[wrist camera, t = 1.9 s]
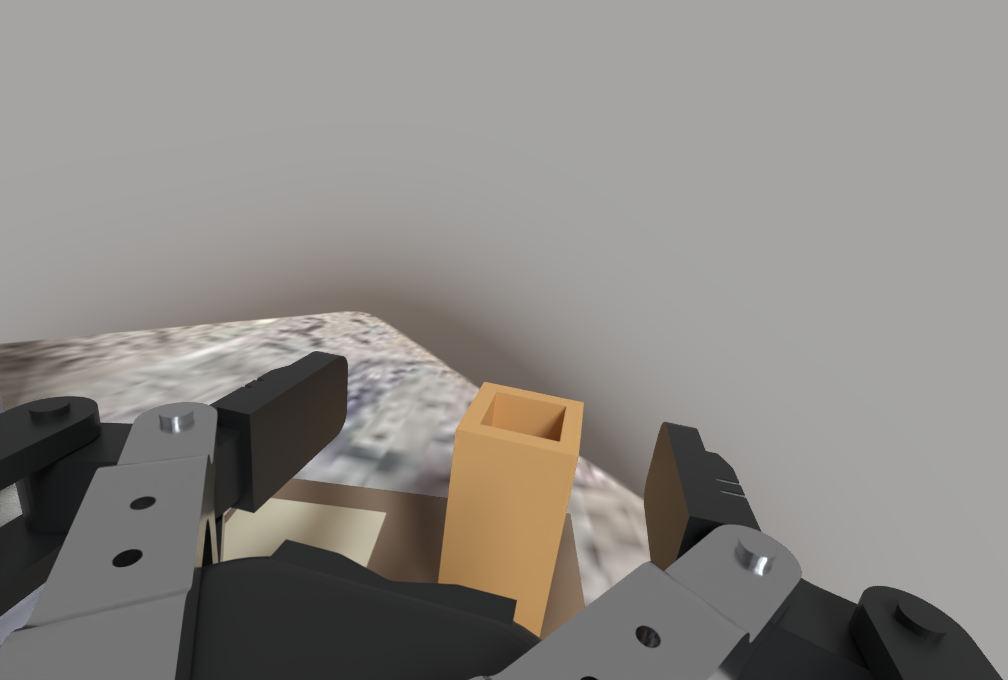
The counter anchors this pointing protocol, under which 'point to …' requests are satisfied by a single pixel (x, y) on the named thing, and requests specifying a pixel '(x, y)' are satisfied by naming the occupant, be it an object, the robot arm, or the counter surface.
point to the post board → (379, 536)
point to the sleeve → (510, 495)
